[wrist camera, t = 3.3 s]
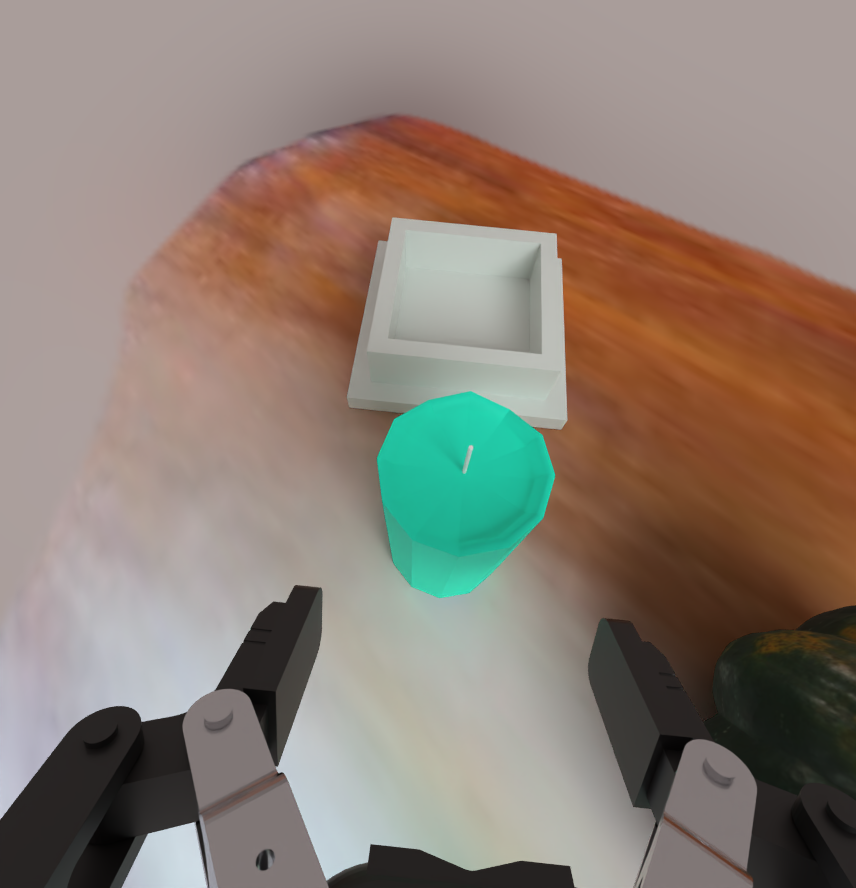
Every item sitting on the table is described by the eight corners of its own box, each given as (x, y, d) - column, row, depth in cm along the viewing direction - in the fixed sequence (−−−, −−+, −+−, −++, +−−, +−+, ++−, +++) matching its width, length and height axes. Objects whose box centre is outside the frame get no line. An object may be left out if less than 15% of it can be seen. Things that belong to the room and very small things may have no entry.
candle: (519, 569, 24) (607, 495, 13) (416, 618, 23) (420, 581, 12) (469, 472, 27) (510, 342, 16) (372, 512, 25) (344, 402, 14)
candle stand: (556, 271, 33) (575, 222, 30) (561, 429, 28) (584, 393, 24) (379, 253, 34) (375, 202, 30) (349, 407, 28) (339, 368, 24)
